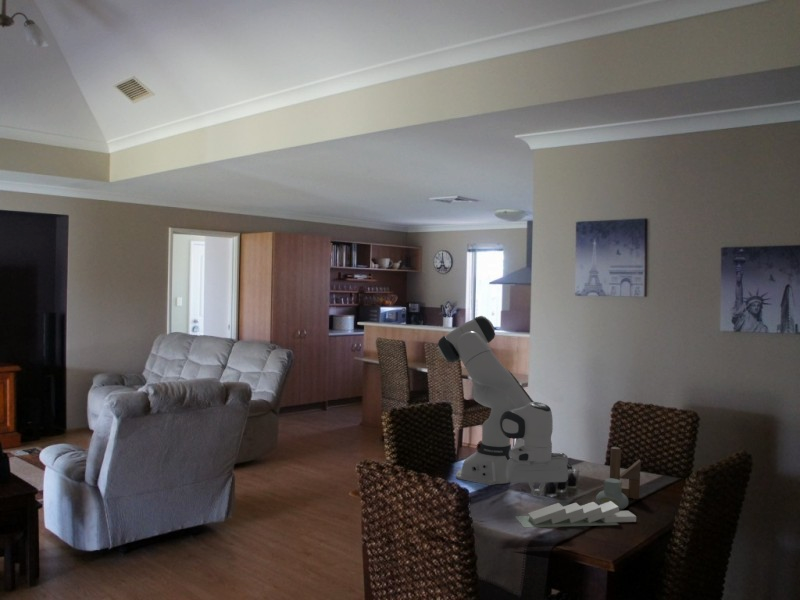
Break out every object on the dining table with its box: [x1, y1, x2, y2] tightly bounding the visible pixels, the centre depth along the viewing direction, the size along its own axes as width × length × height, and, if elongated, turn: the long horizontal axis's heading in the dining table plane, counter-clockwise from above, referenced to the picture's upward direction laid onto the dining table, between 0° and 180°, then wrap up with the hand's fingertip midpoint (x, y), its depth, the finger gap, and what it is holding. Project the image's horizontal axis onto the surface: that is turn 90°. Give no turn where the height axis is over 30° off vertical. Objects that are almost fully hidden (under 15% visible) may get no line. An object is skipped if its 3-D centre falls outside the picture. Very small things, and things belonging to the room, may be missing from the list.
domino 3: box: [567, 501, 602, 523], centre depth 224 cm, size 2×6×11 cm
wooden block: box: [609, 446, 642, 500], centre depth 253 cm, size 4×11×18 cm, turn 76°
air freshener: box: [595, 477, 629, 511], centre depth 240 cm, size 11×8×10 cm
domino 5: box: [601, 510, 637, 523], centre depth 226 cm, size 2×6×11 cm
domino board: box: [514, 515, 620, 529], centre depth 224 cm, size 32×10×1 cm, turn 98°
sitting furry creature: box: [511, 438, 524, 450], centre depth 310 cm, size 10×9×12 cm
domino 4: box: [585, 501, 621, 523], centre depth 225 cm, size 2×6×11 cm
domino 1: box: [527, 502, 566, 524], centre depth 222 cm, size 2×6×11 cm
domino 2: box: [549, 502, 584, 524], centre depth 223 cm, size 2×6×11 cm
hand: (536, 495), depth 222 cm, fingers closed
